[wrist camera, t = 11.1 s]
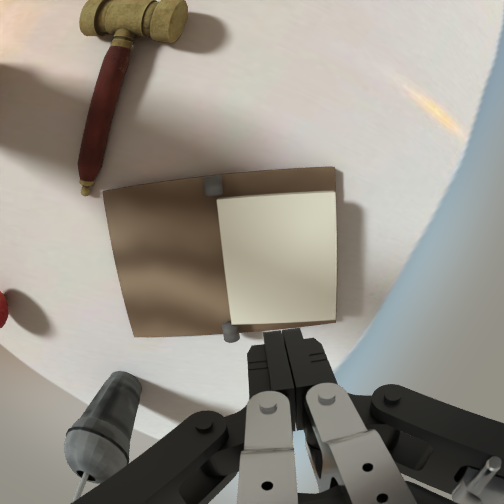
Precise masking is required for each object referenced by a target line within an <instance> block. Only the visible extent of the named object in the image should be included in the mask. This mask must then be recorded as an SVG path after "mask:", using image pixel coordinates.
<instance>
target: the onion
mask: <svg viewBox="0 0 504 504" xmlns="http://www.w3.org/2000/svg"><path fill="white" fill-rule="evenodd" d="M8 314H9V311H8V303H7V300H6V297H5V295H4V294H3V293H1V291H0V328H2V327H3V326H4V324H5V323H6V320H7V318H8Z"/></svg>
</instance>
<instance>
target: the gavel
mask: <svg viewBox="0 0 504 504" xmlns="http://www.w3.org/2000/svg"><path fill="white" fill-rule="evenodd" d="M187 15H188V6H187V3H186V1H185V0H161V1H160V2H157V1H156V0H88V1H87V2H86V4H85V5H84V7H83V9H82V12H81V15H80V21H79V23H80V29H81V32H82V33H83V34H84V35H86V36H104V35H106V34H108V33H109V34H114V38H115V39H113V40H112V43H111V46H110V48H109V50H108V51H107V53H106V55H105V57H104V60H103V63H102V66H101V69H100V72H99V76H98V79H97V82H96V86H95V89H94V93H93V97H92V100H91V104H90V108H89V112H88V116H87V121H86V125H85V129H84V134H83V139H82V144H81V149H80V154H79V160H78V169H79V176H80V184H81V185H83V187H82V189H81V194H82V195H83V196H88V195H89V194H90V186H92V185H93V184H94V181H95V179H96V177H97V175H98V173H99V171H100V169H101V167H102V162H103V157H104V152H105V147H106V143H107V138H108V134H109V130H110V125H111V121H112V117H113V113H114V109H115V106H116V102H117V98H118V95H119V91H120V88H121V85H122V81H123V78H124V75H125V72H126V69H127V65H128V62H129V57H130V51H131V48H132V45H133V43H132V42H133V41H134V40H135V37H136V36H149V35H150V36H151V38H152V39H153V40H154V41H162V42H169V43H173V42H175V41H176V40H177V39H178V38H179V37H180V35H181V33H182V30H183V28H184V26H185V23H186V20H187Z"/></svg>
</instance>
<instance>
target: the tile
mask: <svg viewBox="0 0 504 504" xmlns="http://www.w3.org/2000/svg"><path fill="white" fill-rule="evenodd" d="M217 208H218V217H219V226H220V235H221V243H222V252H223V260H224V269H225V277H226V285H227V293H228V301H229V308H230V316H231V323H232V324H268V323H292V322H310V321H326V320H336V287H337V230H336V196H335V192H334V191H313V192H293V193H277V194H262V195H248V196H235V197H223V198H218V199H217Z"/></svg>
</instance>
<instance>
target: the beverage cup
mask: <svg viewBox="0 0 504 504" xmlns="http://www.w3.org/2000/svg"><path fill="white" fill-rule="evenodd" d="M141 390H142V387H141V384H140V382H139V381H138V380H137V379H136V378H135V377H134V376H132V375H131V374H129V373H126V372H122V371H117V372H114V373H112V374H111V376H110V377H109V378H108V380H106V382H105V383H104V385H103V386H102V387H101V389H100V390H99V392H98V393H97V395H96V396H95V397H94V399H93V400H92V402H91V403H90V405H89V406H88V408H87V409H86V411H85V412H84V413H83V415H82V416H81V418H80V419H78V420H77V421H76V422H75V423H74V424H73V426H72V428H70V429H68V431H67V433H66V439H65V442H64V452H65V457H66V460H67V463H68V464H69V466H70V467H71V469H72V470H73V471H74V472H75V473H76V474H77V475H78V476H79V477H81V478H82V479H81V481H80V484H79V486H78V489H77V491H76V494H75V496H74V499H73V501H72V503H73V502H74V501H76V500H77V499H79V498H80V496H81V493H82V491H83V488H84V486H85V484H86V481H89V482H92V483H100V484H101V483H103V482H104V481H105V480H107V479H108V478H110V477H111V476H113V475H114V474H115V473H117V472H118V471H120V470H121V469H122V468H124V467H125V466H126V465H128V463H129V449H130V439H131V434H132V430H133V426H134V421H135V417H136V413H137V409H138V405H139V401H140V393H141Z"/></svg>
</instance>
